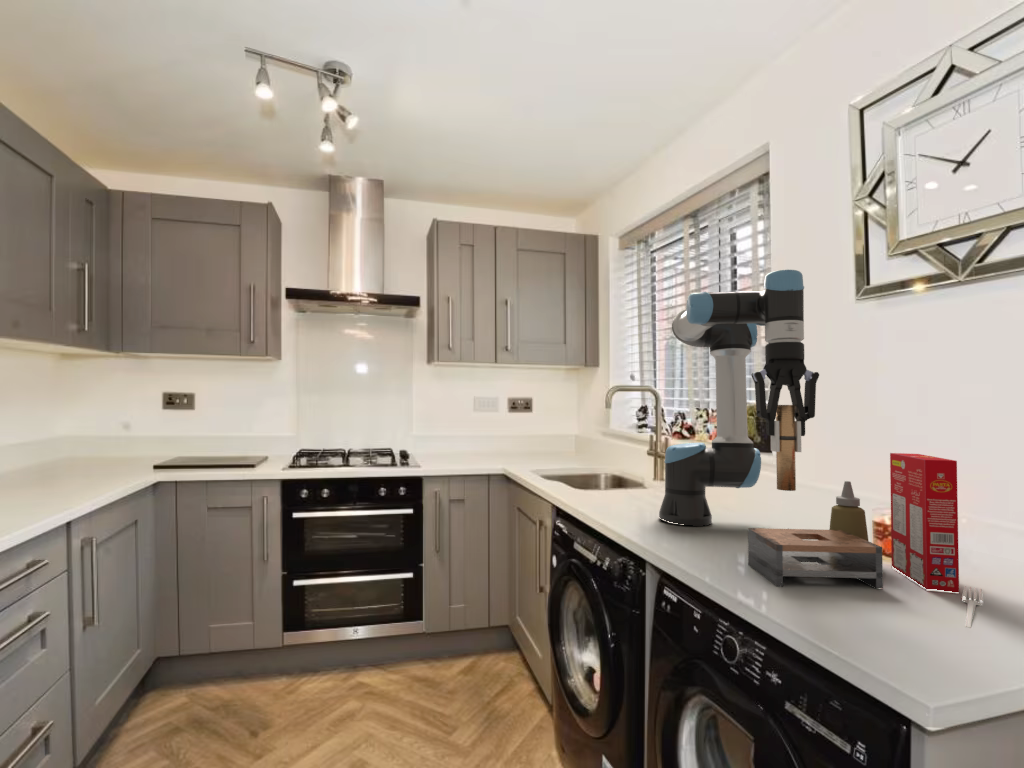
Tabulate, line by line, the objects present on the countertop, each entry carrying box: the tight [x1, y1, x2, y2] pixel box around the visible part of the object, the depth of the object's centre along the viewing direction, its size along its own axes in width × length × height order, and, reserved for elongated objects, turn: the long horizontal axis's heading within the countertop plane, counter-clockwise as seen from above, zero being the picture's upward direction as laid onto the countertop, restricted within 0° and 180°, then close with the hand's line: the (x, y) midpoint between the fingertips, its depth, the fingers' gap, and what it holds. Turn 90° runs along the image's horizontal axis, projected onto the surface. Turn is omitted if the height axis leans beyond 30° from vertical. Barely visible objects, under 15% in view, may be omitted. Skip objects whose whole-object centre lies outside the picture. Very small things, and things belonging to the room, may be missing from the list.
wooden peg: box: [775, 404, 797, 492], centre depth 115 cm, size 4×4×18 cm
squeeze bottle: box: [828, 480, 870, 542], centre depth 122 cm, size 8×8×18 cm
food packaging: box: [889, 452, 960, 593], centre depth 109 cm, size 15×5×25 cm, turn 167°
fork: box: [961, 585, 984, 629], centre depth 93 cm, size 3×20×2 cm, turn 137°
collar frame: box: [747, 527, 884, 589], centre depth 111 cm, size 14×20×8 cm
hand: (785, 451), depth 115 cm, fingers closed on wooden peg, 4 cm apart
